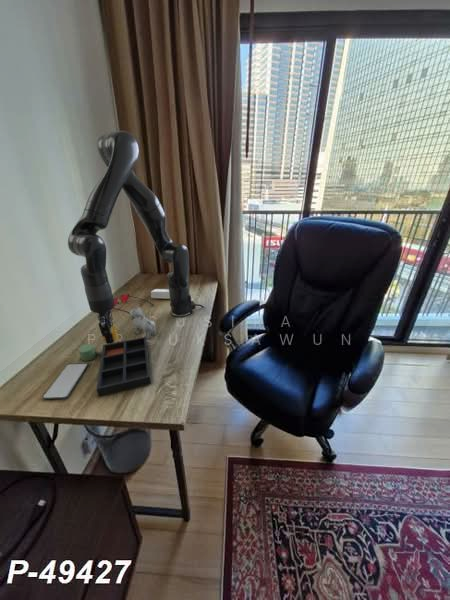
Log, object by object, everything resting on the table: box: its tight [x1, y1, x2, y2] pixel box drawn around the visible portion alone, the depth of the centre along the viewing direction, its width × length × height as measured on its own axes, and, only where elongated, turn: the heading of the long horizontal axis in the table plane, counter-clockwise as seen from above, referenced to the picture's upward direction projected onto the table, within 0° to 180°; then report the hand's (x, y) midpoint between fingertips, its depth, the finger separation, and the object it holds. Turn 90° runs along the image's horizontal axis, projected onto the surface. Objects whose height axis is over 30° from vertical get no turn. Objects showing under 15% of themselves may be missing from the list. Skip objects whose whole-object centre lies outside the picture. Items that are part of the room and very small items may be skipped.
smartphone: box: [42, 362, 89, 400], centre depth 81 cm, size 7×1×15 cm
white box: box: [150, 288, 170, 300], centre depth 134 cm, size 13×7×8 cm, turn 85°
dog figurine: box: [129, 306, 157, 340], centre depth 103 cm, size 5×13×11 cm, turn 52°
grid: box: [96, 336, 152, 397], centre depth 87 cm, size 15×23×3 cm
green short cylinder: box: [78, 343, 97, 362], centre depth 91 cm, size 5×5×4 cm
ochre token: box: [100, 325, 120, 344], centre depth 88 cm, size 5×5×4 cm
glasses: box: [111, 292, 154, 319], centre depth 123 cm, size 14×16×5 cm
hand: (110, 337), depth 89 cm, fingers closed on ochre token, 5 cm apart
